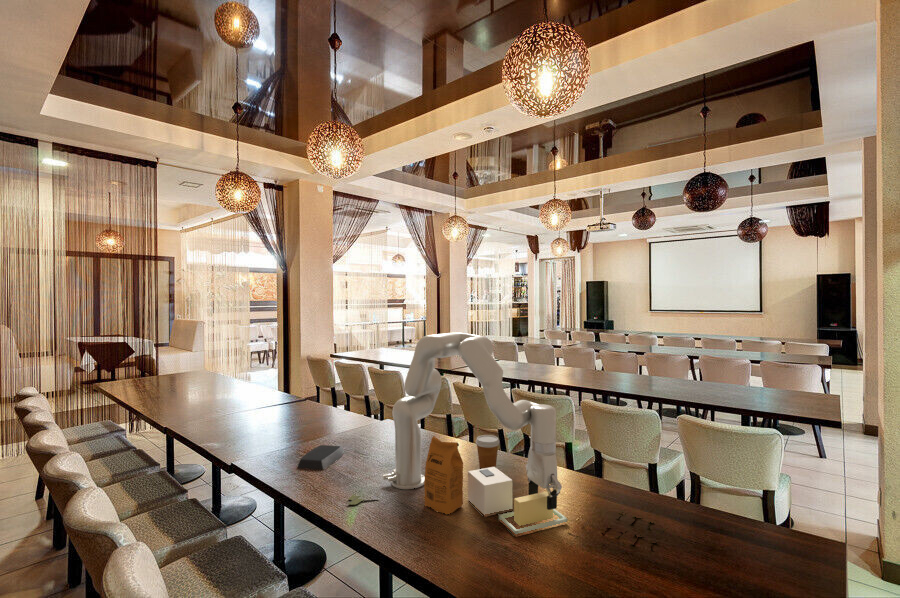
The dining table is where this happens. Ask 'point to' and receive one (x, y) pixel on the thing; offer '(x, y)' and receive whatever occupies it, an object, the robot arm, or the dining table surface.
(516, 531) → the tray
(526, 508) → the pale yellow paper bar
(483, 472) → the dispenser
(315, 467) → the dark grey ingot block
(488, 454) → the disposable coffee cup
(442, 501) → the coffee package
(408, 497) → the dining table surface
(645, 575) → the dining table surface
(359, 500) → the green leaf
